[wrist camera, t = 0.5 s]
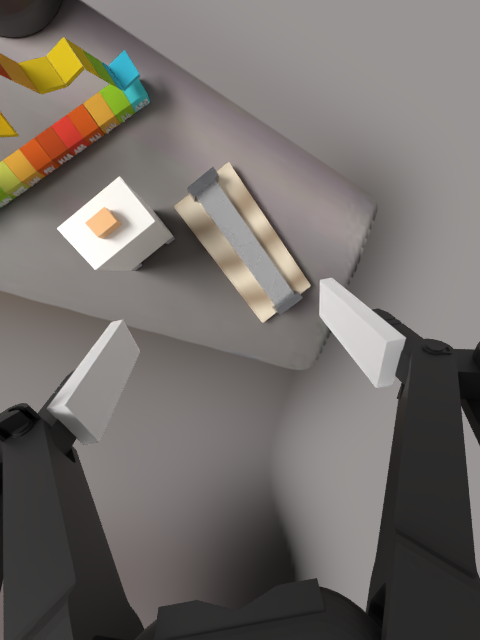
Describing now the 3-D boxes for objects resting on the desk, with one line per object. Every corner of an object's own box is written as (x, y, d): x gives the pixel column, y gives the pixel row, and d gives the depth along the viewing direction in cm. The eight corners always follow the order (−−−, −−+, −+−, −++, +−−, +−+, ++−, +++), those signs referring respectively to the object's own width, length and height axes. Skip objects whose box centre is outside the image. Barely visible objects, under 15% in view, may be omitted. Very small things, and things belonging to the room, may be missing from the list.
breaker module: (111, 243, 33) (47, 226, 21) (153, 209, 33) (113, 170, 20) (135, 270, 35) (89, 270, 22) (175, 238, 34) (152, 218, 21)
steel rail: (189, 194, 32) (187, 188, 30) (213, 174, 32) (213, 166, 29) (276, 312, 37) (280, 315, 35) (297, 296, 37) (302, 297, 34)
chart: (-25, 230, 31) (-231, 194, 17) (-44, 209, 31) (-277, 152, 16) (152, 105, 31) (95, -46, 16) (137, 80, 30) (63, -100, 15)
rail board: (175, 209, 33) (173, 206, 32) (228, 166, 33) (228, 161, 32) (260, 321, 39) (262, 323, 37) (307, 285, 38) (310, 285, 37)
